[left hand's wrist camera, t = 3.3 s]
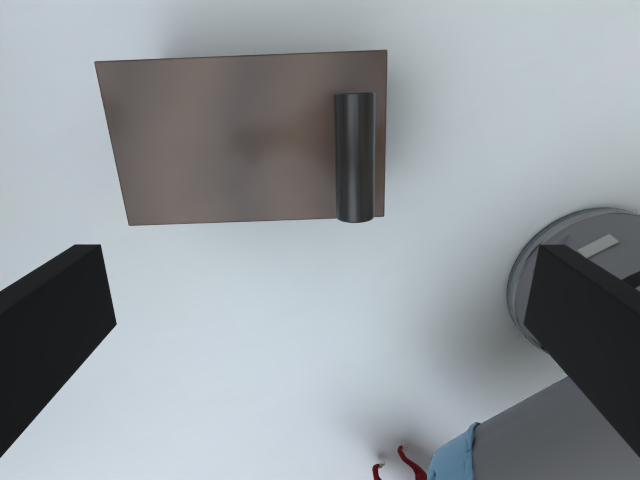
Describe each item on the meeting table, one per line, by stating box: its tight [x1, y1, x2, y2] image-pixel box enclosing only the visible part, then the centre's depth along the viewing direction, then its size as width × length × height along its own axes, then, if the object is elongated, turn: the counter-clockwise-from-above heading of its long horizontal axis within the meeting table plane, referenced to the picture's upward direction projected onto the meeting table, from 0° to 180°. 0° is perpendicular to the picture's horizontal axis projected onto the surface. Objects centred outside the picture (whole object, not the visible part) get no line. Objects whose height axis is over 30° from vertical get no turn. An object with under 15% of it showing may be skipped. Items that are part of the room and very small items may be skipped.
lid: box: [94, 50, 387, 226], centre depth 22 cm, size 17×10×9 cm, turn 92°
